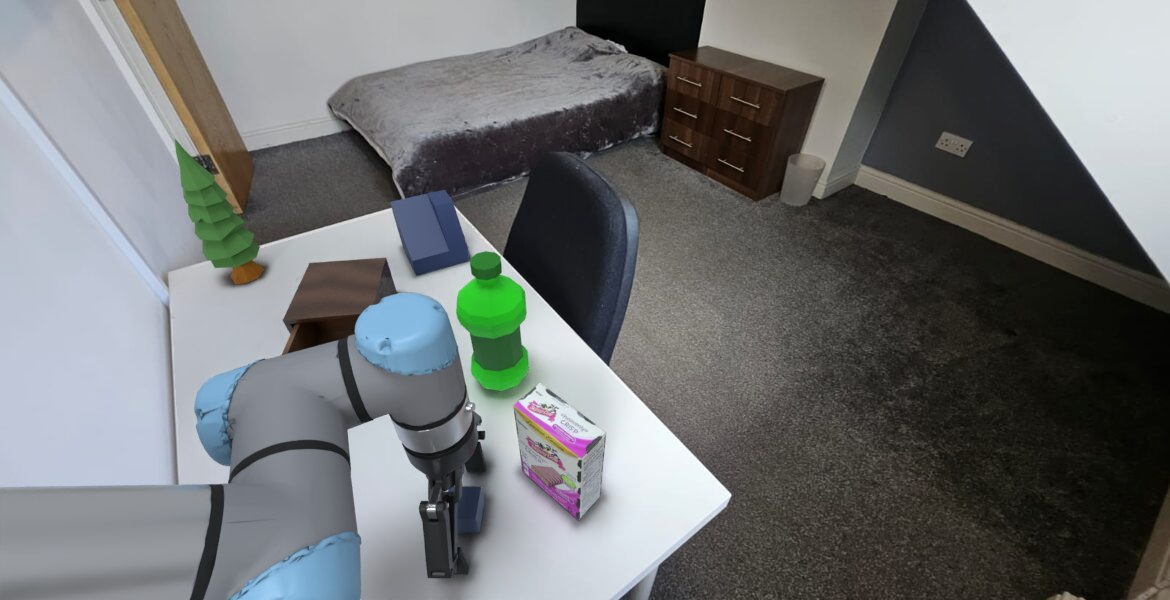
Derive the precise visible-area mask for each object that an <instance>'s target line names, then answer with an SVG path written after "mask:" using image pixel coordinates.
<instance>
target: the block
mask: <svg viewBox="0 0 1170 600" xmlns="http://www.w3.org/2000/svg"><path fill="white" fill-rule="evenodd" d="M447 492H455V486H454V487H452V488H450V489H449V490H447ZM485 503H486V501H485V497H484V493H483V489H482V486H471V485H470V486H463V485H462V496H461V498H460V500H459V501H458V504H457V534H480V533H481V528H482V522H483V516H484V512H485V511H484V510H485V505H486V504H485Z"/></svg>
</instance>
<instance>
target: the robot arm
mask: <svg viewBox="0 0 1170 600" xmlns="http://www.w3.org/2000/svg"><path fill="white" fill-rule="evenodd" d="M475 410H476V404H475V402H473V401H470V397H469V393H468V389H467V383H466V379H465V373H464V369H463V365H462V360H461V356H460V350H459V345H458V343H457V339H456V336H455V333H454V330H453V326H452V325H451V320H450V317H449V313H448V312H447V311H446V309H445V307H444V306H443V305H442V304H441V303H440V302H439V301H438V300H437V299H434V298H433V297H431V296H429V295H426V294H423V293H419V292H418V293H417V292H400V293H398V294H394V295H390V296H387V297H384V298H382V299H381V301H380V303H378V304H377V305H370V306H369V307H367V308H366V309H365V310H364V311H363V312H362V313H361V315H360V316H359V318H358V320H357V322H356V325H355V334H354V335H350V336H348V338H345V339H341V340H337V341H333V342H329V343H326V344H322V345H318V346H314V347H311V348H307V349H303V350H300V351H296V352H292V353H288V354H285V355H282V354H281V355H278V356H274V357H269V358H260V359H257V360H254V361H253V362H251V363H248V364H246V365H243V366H240V367H237V368H233V369H232V370H228V371H225V372H222V373H219V374H215V375H214V376H212V377H209V378H208V379H207V380H206V381H204V382H203V383H202V384H201V386H200V388H199V389H198V391H197V392H196V396H195V399H194V406H193V411H194V414H195V417H196V420H197V421H196V424H195V429H196V432H197V435H198V438H199V441H200V443H201V445H202V447H203V449H204V450H205V452H206V453H207V455H208V456H209V457H210V458H211V460H212V461H214V462H215V463H216V464H219V465H221V466H225V467H229V473H228V475H229V476H228V480H227V483H207V484H205V483H203V484H202V483H201V484H196V483H195V484H127V485H126V484H123V485H121V484H120V485H119V484H118V485H117V484H116V485H51V486H50V485H49V486H46V485H45V486H43V485H41V486H37V485H36V486H0V600H362V599H361V598H362V566H361V565H362V562H361V561H362V560H361V545H362V537H361V535H360V534H359V531H358V524H357V515H356V507H355V498H354V489H353V481H352V464H351V463H352V462H351V454H350V453H351V452H350V442H349V431H348V430H351V429H353V428H356V427H358V426H361V425H363V424H366V423H369V422H372V421H374V420H375V419H378V418H381V417H384V416H387V415H389V418H390V420H391V422H392V426H393V428H394V430H395V433H396V435H397V437H398V440H399V441H400V443H401V446H402V447H403V450H404V452H405V454H406V456H407V459H408V461H409V462H410V464H411V465H412V466H413V467H414V468H415V469H416V470H417V471H419V472H421V473H422V474H424V475H425V478H426V480H427V500H421V501H420V502H419V505H418V512H419V516H420V519H421V522H422V532H423V534H422V535H423V545H424V555H425V566H426V577H427V579H452V578H453V576H455V575H456V576H457V575H461V576H465V575H466V576H467V575H469V570H470V567H469V565H468V562H467V560H466V556H465V555H464V552H463V550H462V547H461V546H458V533H457V504H458V501H459V500H460V498H461V496H462V486H463V476H464V474H465V471H466V472H486V470H487V464H486V460H485V457H484V451H483V449H482V448H483V447H482V444H481V441H485V440H486V430H478V427H480V426H481V425H482V423H483V418H482V416H481V415H480V414H478V413H477V412H476V411H475ZM454 486H455V492H448V490H449V489H450V488H452V487H454Z"/></svg>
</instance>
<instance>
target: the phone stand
mask: <svg viewBox="0 0 1170 600" xmlns="http://www.w3.org/2000/svg"><path fill="white" fill-rule="evenodd" d="M389 204H390V207H391V210H392V215H393V218H394V222H395V225H396V228H397V232H398V235H399V239H400V242H401V246H402V249H403V251H404V253H405V256H406V258H407V260H408V262H409V264H410V265H411V268H412V271H413V272H414V275H415V277H418V276H422V275H425V274H429V273H432V272H435V271H440V270H442V269H446V268H449V267H453V266H457V265H461V264H463V263H467V262H470V255H469V247H468V244H467V241H466V238H465V235H464V231H463V229H462V225H461V221H460V219H459V216H458V213H457V210H456V207H455V204H454V200H452V197H450V195H449V193H447V190H445V189H442V190H437V191H432V192H428V193H424V194H419V195H415V196H414V195H413V196H410V197H405V198H401V199H396V200H392V201H389Z"/></svg>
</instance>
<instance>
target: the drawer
mask: <svg viewBox="0 0 1170 600" xmlns="http://www.w3.org/2000/svg"><path fill="white" fill-rule="evenodd" d="M357 320H358V318H349V319H338V320H327V321H316V322H304V323H295V325H294V327H293V330H292V332H291V334H290V333H289V336H288V339H287V341H286V343H285V346H284V348H283V351H282V353H281V355H285V354H288V353H292V352H296V351H300V350H303V349H307V348H311V347H314V346H318V345H322V344H326V343H329V342H333V341H337V340H341V339H345V338H348V336H350V335H354V334H355V325H356V322H357Z"/></svg>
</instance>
